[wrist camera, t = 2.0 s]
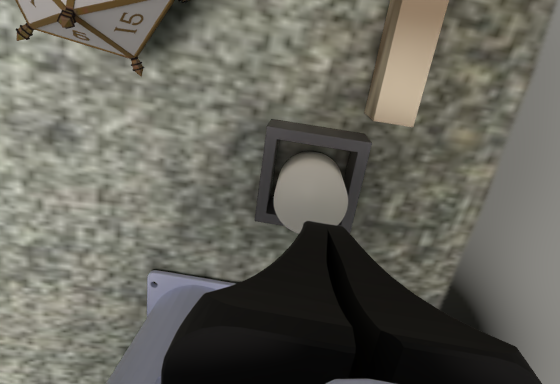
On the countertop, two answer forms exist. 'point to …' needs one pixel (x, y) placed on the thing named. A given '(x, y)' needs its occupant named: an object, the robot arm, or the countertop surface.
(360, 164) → the button box
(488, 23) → the countertop surface
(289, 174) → the button
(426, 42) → the rail
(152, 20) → the game die
